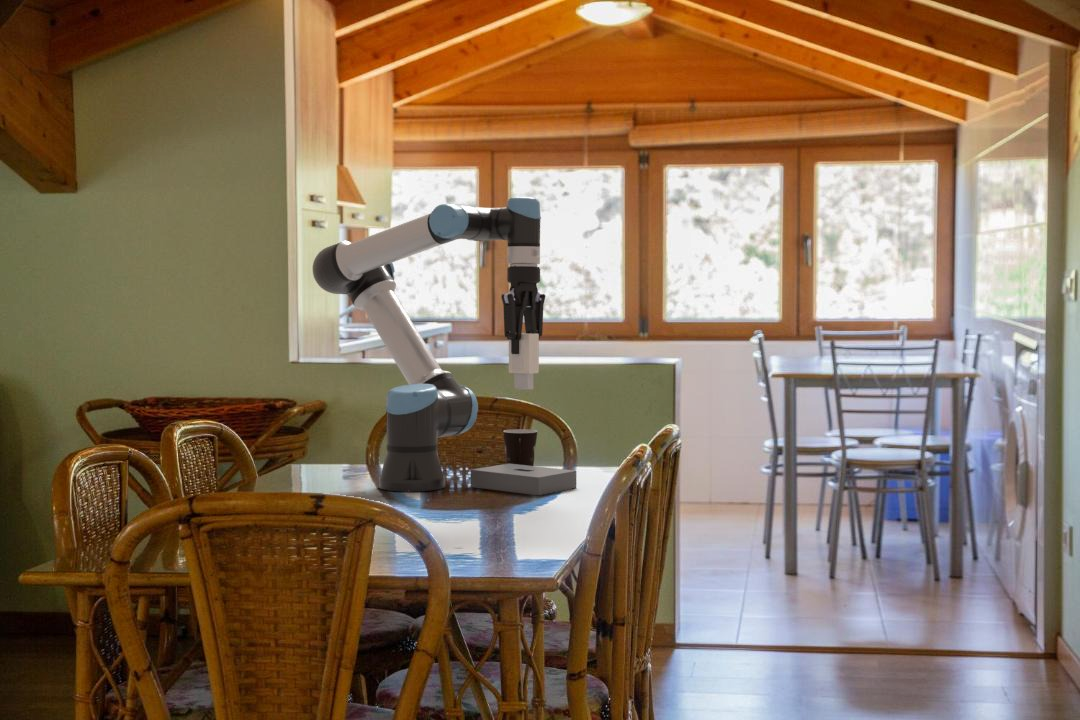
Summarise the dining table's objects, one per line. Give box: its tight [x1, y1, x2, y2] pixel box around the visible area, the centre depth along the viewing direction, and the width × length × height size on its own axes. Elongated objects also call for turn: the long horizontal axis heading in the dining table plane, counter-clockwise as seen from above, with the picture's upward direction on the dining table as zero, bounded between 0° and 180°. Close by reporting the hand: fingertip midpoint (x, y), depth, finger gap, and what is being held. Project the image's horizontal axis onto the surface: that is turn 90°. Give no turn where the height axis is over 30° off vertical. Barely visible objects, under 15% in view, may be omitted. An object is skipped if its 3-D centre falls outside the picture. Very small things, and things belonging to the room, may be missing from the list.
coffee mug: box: [502, 429, 538, 466], centre depth 326 cm, size 12×9×10 cm
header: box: [470, 463, 577, 496], centre depth 299 cm, size 20×14×4 cm
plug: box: [508, 332, 540, 390], centre depth 298 cm, size 6×4×13 cm, turn 52°
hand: (523, 368), depth 298 cm, fingers closed on plug, 3 cm apart
